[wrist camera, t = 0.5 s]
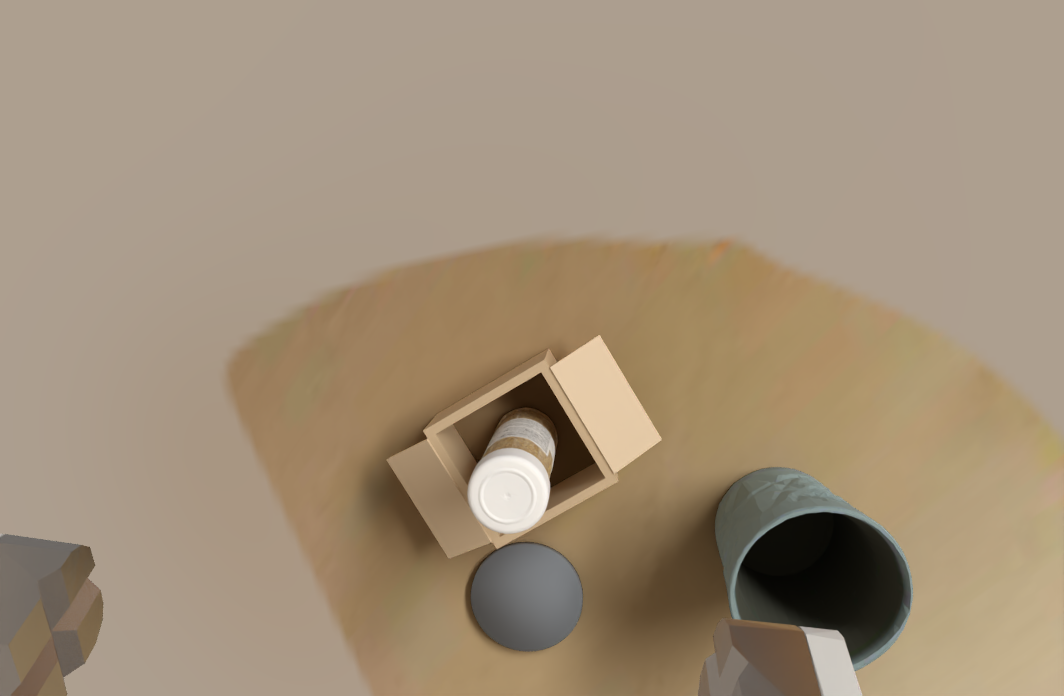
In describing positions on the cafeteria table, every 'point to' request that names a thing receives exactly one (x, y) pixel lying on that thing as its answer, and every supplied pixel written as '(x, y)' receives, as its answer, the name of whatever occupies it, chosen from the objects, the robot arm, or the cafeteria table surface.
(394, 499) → the cafeteria table surface
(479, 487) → the sprinkles bottle
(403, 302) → the cafeteria table surface
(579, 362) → the carton
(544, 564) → the coaster
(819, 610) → the teal cup
